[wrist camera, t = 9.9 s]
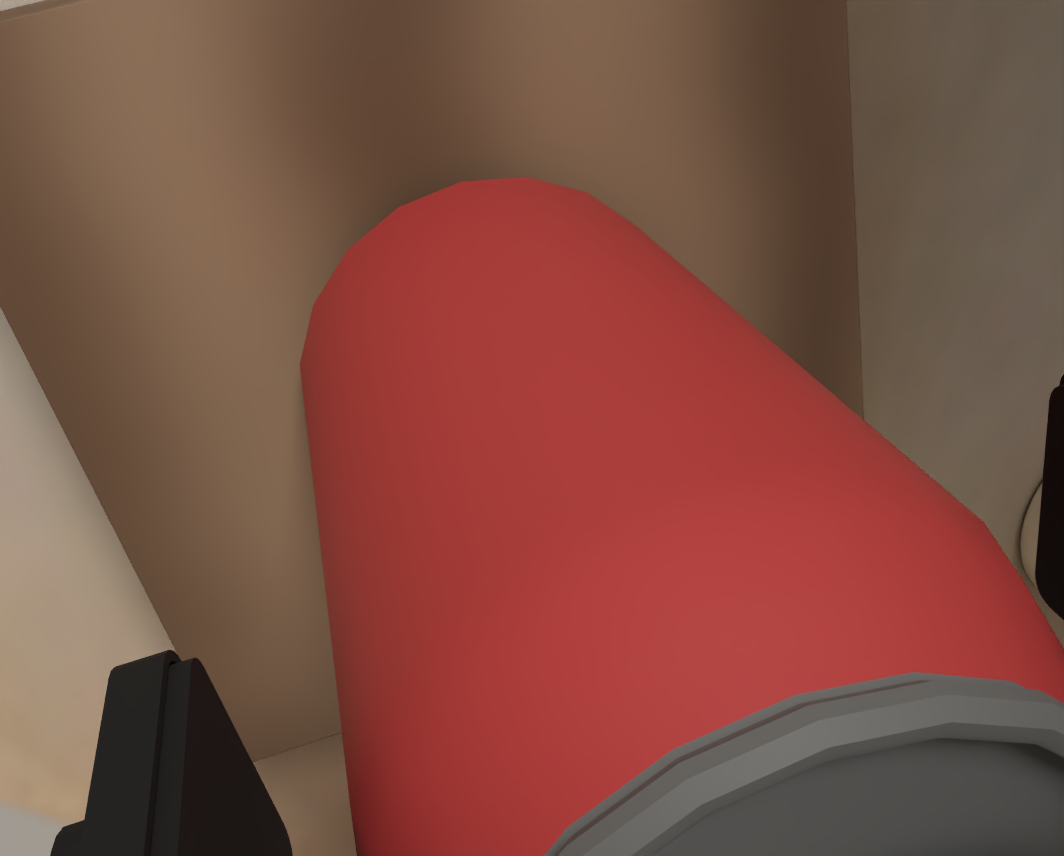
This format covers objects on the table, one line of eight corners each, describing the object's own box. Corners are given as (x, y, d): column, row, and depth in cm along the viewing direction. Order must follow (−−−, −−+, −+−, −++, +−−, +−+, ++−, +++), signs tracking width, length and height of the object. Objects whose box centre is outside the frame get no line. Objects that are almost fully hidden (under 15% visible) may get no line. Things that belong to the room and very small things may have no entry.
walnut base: (752, -172, 18) (838, -182, 15) (804, 485, 25) (869, 555, 22) (-69, 28, 16) (-129, 53, 13) (236, 670, 23) (235, 768, 20)
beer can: (685, 464, 20) (1164, 1088, 9) (353, 558, 19) (483, 1356, 9) (650, 125, 16) (1322, 514, 6) (246, 219, 16) (249, 854, 5)
